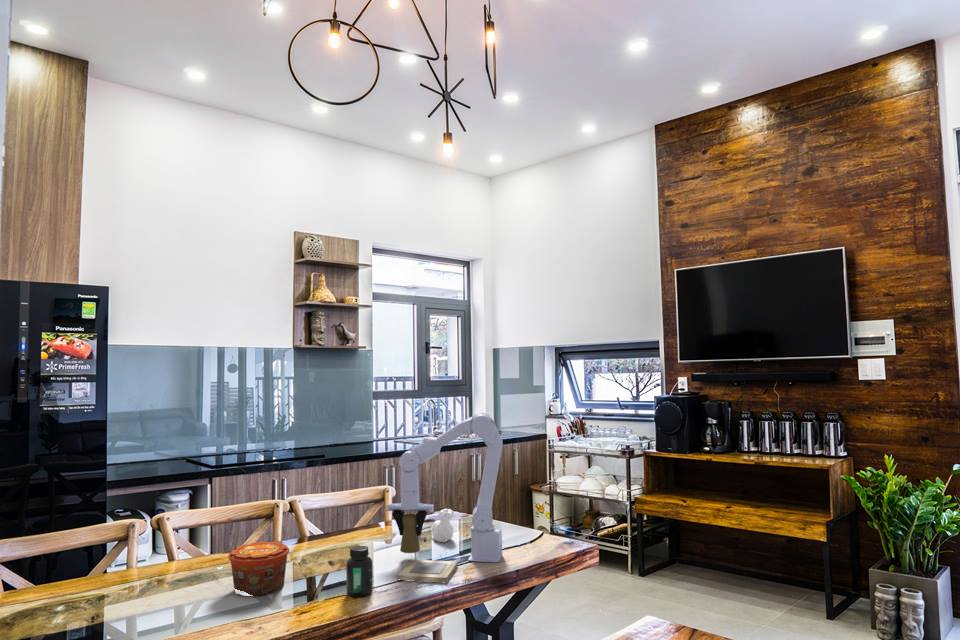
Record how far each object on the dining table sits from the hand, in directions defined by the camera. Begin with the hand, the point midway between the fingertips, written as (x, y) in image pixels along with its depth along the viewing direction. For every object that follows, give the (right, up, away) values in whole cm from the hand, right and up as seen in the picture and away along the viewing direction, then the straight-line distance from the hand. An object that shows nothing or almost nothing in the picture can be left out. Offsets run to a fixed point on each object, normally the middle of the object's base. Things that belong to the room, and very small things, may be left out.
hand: (410, 534), depth 205 cm
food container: (-39, -7, -23) cm, 46 cm away
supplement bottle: (-11, -7, -29) cm, 31 cm away
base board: (+7, -7, -14) cm, 17 cm away
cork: (0, -5, 0) cm, 5 cm away
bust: (+9, -8, +20) cm, 24 cm away
